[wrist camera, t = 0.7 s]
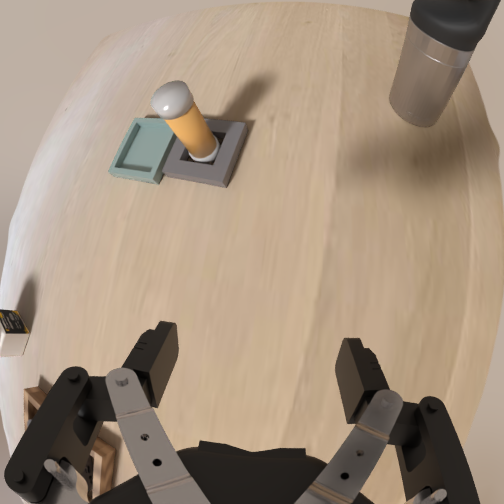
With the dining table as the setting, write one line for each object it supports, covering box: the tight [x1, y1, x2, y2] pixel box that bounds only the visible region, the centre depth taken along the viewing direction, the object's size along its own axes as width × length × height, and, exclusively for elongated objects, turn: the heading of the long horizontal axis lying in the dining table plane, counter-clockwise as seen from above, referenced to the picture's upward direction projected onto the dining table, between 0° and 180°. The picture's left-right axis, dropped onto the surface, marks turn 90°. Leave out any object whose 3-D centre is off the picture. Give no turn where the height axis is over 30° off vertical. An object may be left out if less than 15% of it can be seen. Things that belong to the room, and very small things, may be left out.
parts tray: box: [108, 118, 177, 185], centre depth 42 cm, size 11×10×2 cm
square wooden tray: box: [24, 387, 116, 502], centre depth 33 cm, size 22×22×4 cm
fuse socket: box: [162, 118, 248, 188], centre depth 40 cm, size 10×10×2 cm
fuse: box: [151, 81, 221, 165], centre depth 34 cm, size 5×5×14 cm
